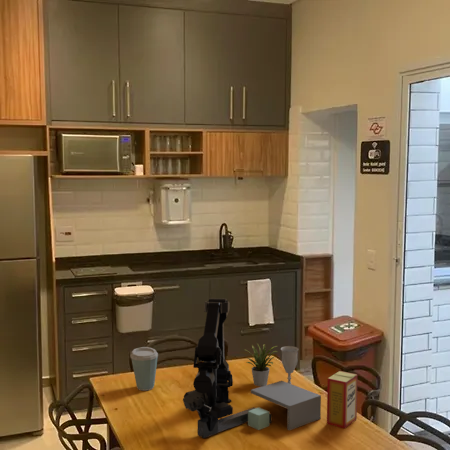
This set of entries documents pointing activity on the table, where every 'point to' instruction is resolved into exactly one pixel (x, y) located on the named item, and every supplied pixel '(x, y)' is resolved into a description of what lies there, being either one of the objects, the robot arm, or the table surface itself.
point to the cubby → (292, 402)
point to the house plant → (261, 366)
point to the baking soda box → (342, 399)
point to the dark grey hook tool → (224, 423)
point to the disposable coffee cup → (144, 367)
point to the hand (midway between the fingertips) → (207, 429)
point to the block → (258, 418)
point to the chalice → (289, 359)
